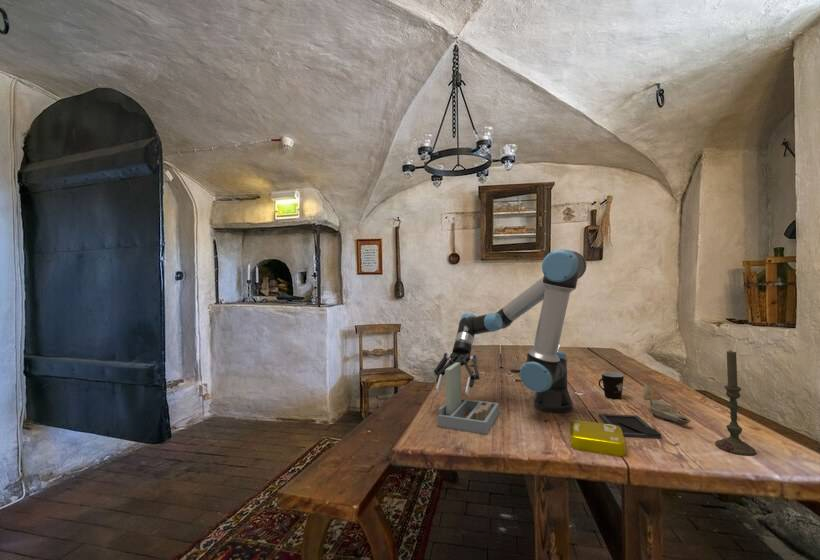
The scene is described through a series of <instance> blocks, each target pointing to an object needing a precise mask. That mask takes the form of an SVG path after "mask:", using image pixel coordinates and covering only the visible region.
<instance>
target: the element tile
mask: <svg viewBox="0 0 820 560" xmlns="http://www.w3.org/2000/svg"><path fill="white" fill-rule="evenodd" d="M569 425H570V428H569V429H570V430H569V431H570V432H569V434H570V435H569V437H570V438H569V439H570V447H571V449H573V450H577V451H583V452H588V453H594V454H601V455H607V456H612V457H613V456H614V457H619V458H621V457H626V456H627V453H626V452H627V449H626V447H627V446H626V440H625V437H624V436H623V433H622V430H621V428H620V427H619V426H618V425H612V424H605V423H604V422H603V423H602V422H595V421H586V420H579V419H572V420H571V421H570V424H569Z"/></svg>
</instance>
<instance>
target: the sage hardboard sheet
mask: <svg viewBox="0 0 820 560" xmlns="http://www.w3.org/2000/svg"><path fill="white" fill-rule="evenodd" d="M461 367H462V366H461V363H457V362H456V363H454V364H453V365H451V366H450V367H448V368H447V369H445V374H444V385H445V393H444V395H445V403H446V416H450V415H451V414H452V413H453V412H454V411H455V410H456V409H457V408H458V407H459V406H460V405H461V404H462V399H463V397H462V369H461Z"/></svg>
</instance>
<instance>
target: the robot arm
mask: <svg viewBox="0 0 820 560" xmlns="http://www.w3.org/2000/svg"><path fill="white" fill-rule="evenodd" d="M586 270H587V262H586V259H585V257H584V256H583V255H582V254H581V253H579V252H577V251H574V250H569V249H562V248H560V249H555V250H552V251H551V252H549V253H548V254H547V255H545V256H544V258H543V260H542V263H541V271H542V273H543V276H542V277H541V278H540V279H539V280H537V281H535V283H533V284H532V285H531V286H529V287H528V288H526V290H524V291H522V293H520V294H519V295H517V296H516V297H514V299H512V300H510V302H508V303H507V304H506V305H504V306H503V307H502V308H500V309H499V310H497V311H496V312H490V313H487V314H483V315H482V314H481V315H478V316H476V315H475V314H474V313H469V312H467V313H463V315H461V317H460V320H459V322H458V329H457V332H456V335H455V340H454V342H453V343H454V344H453V347H452V351H451V353H450V354H448V353H447V352H445V353H444V354H443V356H442V359H441V360H440V361H439V363H438V365H436V367H435V369H434V371H433V372H434V374H435V376H436V381H435V382H436V387H435V388H436V389H435V390H436V391H437V393H441V389H442V385H443V381H444V377H443V376H445V369H447V368H448V367H450V366H451V365H453V364H454V363H456V362H457V363H461V367H463V366H464V367H465V370H466V371H467V373H468V375H469V376H468V377H467V382H466V387H465V392H464V393H465V395H466V396H468V397H469V396H470V393H471V392H470V390H471V388H473V387H474V383H475V380H480V373H479V369H478V365H477V362H478V358H477V355H476V354H473V355H471V354H472V353H471V352H472V349H473V343H474V339H475V336H476V335H481V334H485V333H490V332H497V331H500V330H502V329H503V330H504V329H508V327H510V326H511V325H512V323H513V322H514V321H515V320H518V318H520V317H521V316H523V315H524V314H525V313H527V312H528V311H529V310H531V309H533V308H534V307H535V306H536V305H538V304H540V303H542V304H541V308H540V313H539V318H538V323H537V328H536V333H535V338H534V343H533V348H531V349H529V350H528V351H527V355H526V361H525V363H523V365H522V366H521V368H520V370H519V376H520V379H521V382H522V383H523V385H524V386H525V387H526V388H527V389H529V390H530V391H531V392H535V394H534V396H533V407H534V408H535V409H537V410H540V411H543V412H546V413H553V414H554V413H555V414H564V413H565V414H566V413H571V412H572V411H573V410H574V409H573V408H574V407H573V406H574V405H573V400H572V398H571V395H570V393H569V390H568V363H567V362H568V359H567V354H566V353H565V352H563V351H562V352H561V351H558V350H559V345H560V340H561V337H562V331H563V327H564V322H565V318H566V313H567V309H568V304H569V300H570V295H571V293H573V291H575V290H576V288H577V285H578V281H579V279H580V278H582V277H583V276H584V274H585V272H586ZM469 361H471V362H472V365H473V370H474V374H473V372H472V370H471V367H470V365H469V364H468V362H469Z"/></svg>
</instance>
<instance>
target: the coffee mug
mask: <svg viewBox="0 0 820 560" xmlns="http://www.w3.org/2000/svg"><path fill="white" fill-rule="evenodd" d="M624 378H625V377H624V374H622V373H620V372H613V371H611V372H610V371H605V372H604V371H603V372H601V378H600V379H599V380H598V387H599V388H600V389H601V390H602V391H603V393H604V397H605V398H607V399H609V400H621V399H622V398H623V397H622V396H623V387H624ZM601 382H602V384H603V385H602V386H603V387H602V386H601Z"/></svg>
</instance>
